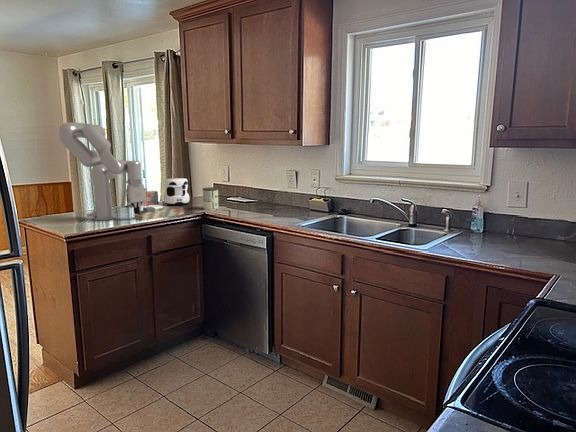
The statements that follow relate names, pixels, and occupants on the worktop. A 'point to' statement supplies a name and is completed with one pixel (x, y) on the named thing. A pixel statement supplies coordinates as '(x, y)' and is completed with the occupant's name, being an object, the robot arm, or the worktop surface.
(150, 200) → the stack of blocks
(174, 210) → the lane
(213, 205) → the coffee can
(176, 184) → the milk container
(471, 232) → the worktop surface
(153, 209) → the block
